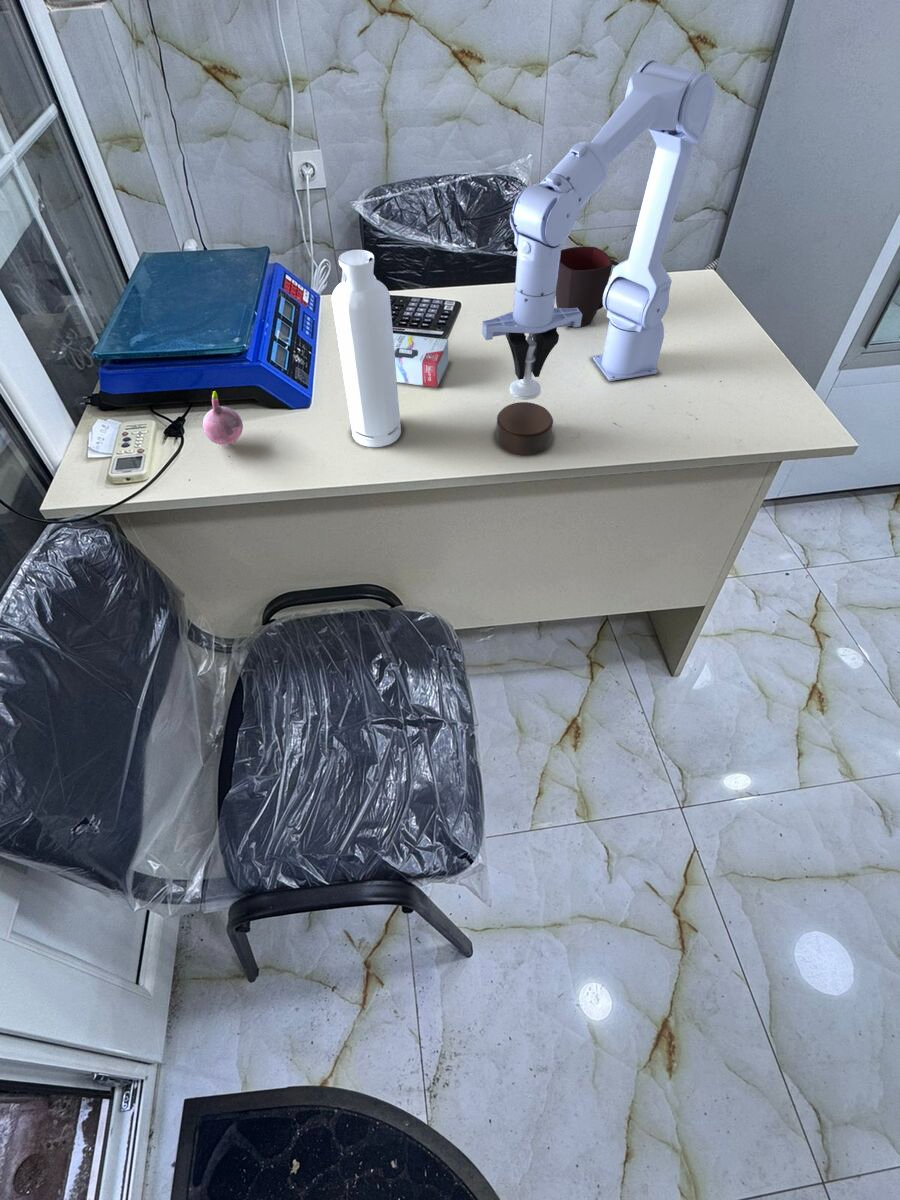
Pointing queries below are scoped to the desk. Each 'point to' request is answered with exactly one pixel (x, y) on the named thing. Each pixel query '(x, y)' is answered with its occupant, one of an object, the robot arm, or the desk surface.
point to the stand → (524, 428)
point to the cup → (583, 280)
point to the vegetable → (222, 424)
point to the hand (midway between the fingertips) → (527, 374)
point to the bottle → (367, 350)
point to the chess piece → (527, 377)
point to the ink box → (420, 359)
